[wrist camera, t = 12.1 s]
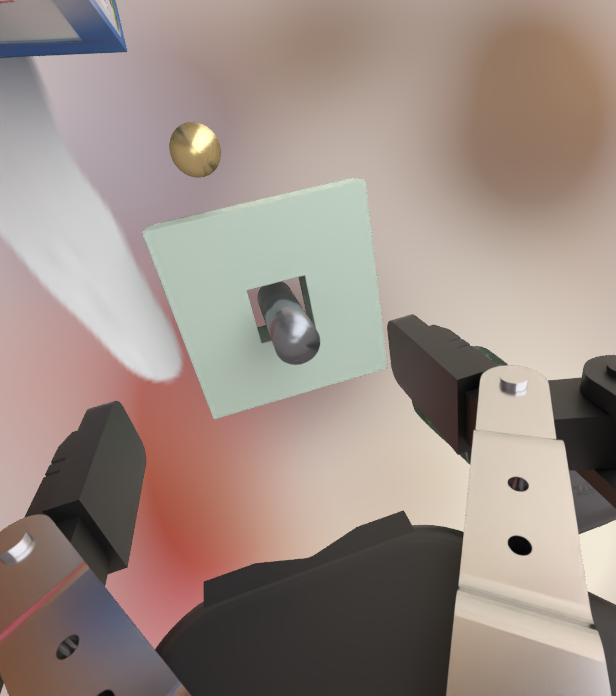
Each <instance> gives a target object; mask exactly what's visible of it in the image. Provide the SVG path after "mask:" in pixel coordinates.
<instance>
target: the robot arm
mask: <svg viewBox="0 0 616 696" xmlns="http://www.w3.org/2000/svg"><path fill="white" fill-rule="evenodd" d="M387 330H388V339H389V349H390V357H391V367H392V371H393V374H394V377H395V379H396V381H397V382H398V384H399V385H400V387H401V388H402V389H403V390H404V391H405V392H406V394H407V395H408V396H409V397H410V398H411V400H412V401H413V402H414V403H415V404H416V406H417V407H418V408H419V409H420V410H421V411H422V413H423V414H424V415H425V416H426V417H427V419H428V420H429V421H430V422H431V423H432V424H433V426H434V427H435V428H436V429H437V430H438V432H439V433H440V434H441V435H442V436H443V438H444V439H445V440H446V441H447V442H448V443H449V445H450V446H451V447H452V448H453V449H454V451H455V452H456V453H457V454H458V455H459V454H462V453H465V452H468V451H471V450H472V454H471V464H470V474H469V485H468V495H467V505H466V515H465V526H464V532H462V531H459V530H455V529H451V528H447V527H441V526H434V525H413V526H412V525H411V523H410V521H409V519H408V517H407V516H406V514H405V512H404V511H401V512H398V513H396V514H392V515H390V516H387V517H384V518H381V519H378V520H375V521H373V522H370V523H367V524H364V525H361V526H359V527H356V528H355V529H353V530H352V531H350V532H349V533H347V534H346V535H344V536H343V537H341V538H340V539H338V540H337V541H335V542H334V543H332V544H331V545H329V546H327V547H326V548H324V549H323V550H322V551H320V552H318V553H317V554H315V555H314V556H312V557H309V558H304V559H294V560H285V561H274V562H264V563H255V564H252V565H250V566H247V567H244V568H241V569H238V570H236V571H232V572H230V573H227V574H224V575H221V576H218V577H216V578H213V579H210V580H207V581H204V601H203V602H202V603H200V604H199V605H198V606H196V607H195V608H194V609H192V610H191V611H190V612H189V613H187V614H186V615H185V616H184V617H183V618H182V619H181V620H180V621H179V622H178V623H177V624H176V625H175V626H174V627H173V628H172V629H171V630H170V631H169V632H168V634H167V635H166V636H165V637H164V638H163V639H162V641H161V642H160V643H159V645H158V646H157V648H156V649H154V648H153V647H152V646H151V644H150V643H149V642H148V641H147V639H146V638H145V637H144V636H143V634H142V633H141V632H140V630H139V629H138V628H137V627H136V625H135V624H134V623H133V622H132V620H131V619H130V618H129V617H128V615H127V614H126V613H125V612H124V610H123V609H122V608H121V607H120V605H119V604H118V603H117V601H116V600H115V599H114V598H113V596H112V595H111V594H110V593H109V592H108V590H107V589H106V588H105V584H106V579H107V575H108V574H110V573H113V572H115V571H119V570H121V569H124V568H127V567H128V561H129V555H130V550H131V545H132V539H133V533H134V528H135V522H136V517H137V510H138V505H139V500H140V494H141V489H142V483H143V477H144V472H145V466H146V453H145V449H144V446H143V443H142V441H141V439H140V437H139V435H138V433H137V432H136V430H135V428H134V426H133V424H132V422H131V420H130V419H129V417H128V415H127V413H126V411H125V409H124V407H123V406H122V405H121V403H120V402H118V401H114V402H110V403H107V404H103V405H100V406H97V407H93V408H90V409H88V410H87V411H86V413H85V415H84V418H83V420H82V422H81V424H80V426H79V429H78V431H75V432H72V433H71V434H70V435H69V436H68V437H67V438H66V440H65V441H64V442H63V443H62V444H61V445H60V446H59V447H58V449H57V451H56V453H55V455H54V457H53V459H52V461H51V463H52V464H51V465H50V466H49V468H48V470H47V472H46V474H45V475H46V477H44V478H43V480H42V483H41V484H40V486H39V488H38V490H37V493H36V494H35V497H34V499H33V501H32V503H31V505H30V507H29V509H28V511H27V513H26V515H25V517H24V518H23V519H20V520H19V521H16V522H14V523H13V524H11V525H9V526H8V527H6V528H5V529H3V530H2V531H1V532H0V693H1V690H2V687H3V684H5V687H6V689H7V692H8V694H9V696H616V605H615V604H613V603H611V602H609V601H607V600H604V599H603V598H600V597H598V596H596V595H594V594H592V593H590V592H588V591H587V584H586V578H585V572H584V566H583V559H582V553H581V547H580V540H579V533H578V527H577V521H576V514H575V508H574V501H573V495H572V489H571V482H570V476H569V471H576V472H577V473H578V474H579V475H580V476H581V477H582V478H584V479H585V480H586V481H587V482H588V483H589V484H590V485H591V486H592V487H593V488H594V489H595V490H596V491H597V492H598V493H599V494H601V495H602V496H603V497H604V498H605V499H606V500H607V501H608V502H609V503H610V504H611V505H612V506H613V507H614V508H615V509H616V355H606V356H599V357H595V358H592V359H590V360H588V361H587V362H586V363H585V365H584V368H583V374H582V378H572V379H561V380H549V381H547V379H546V378H545V377H544V376H543V375H542V374H540V373H539V372H537V371H535V370H532V369H529V368H526V367H522V366H514V365H505V366H499V365H498V364H496V363H495V362H494V361H492V360H491V359H490V358H488V357H487V356H485V355H484V354H483V353H481V352H480V351H478V350H477V349H476V348H474V347H473V346H470V344H469V343H467V342H466V341H464V340H463V339H461V338H460V337H459V336H458V335H456V334H455V333H453V332H452V331H451V330H449V329H446V328H442V327H440V326H436V325H431V326H428V325H427V324H425V323H424V322H423V321H421V320H420V319H419V318H418V317H416V316H415V315H413V314H412V315H408V316H405V317H402V318H398V319H395V320H391V321H389V322H388V326H387Z"/></svg>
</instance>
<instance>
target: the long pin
mask: <svg viewBox="0 0 616 696" xmlns="http://www.w3.org/2000/svg"><path fill="white" fill-rule="evenodd" d="M258 303H259V306H260V308H261V311H262V314H263V317H264V320H265V323H266V326H267V328H268V331H269V334H270V337H271V340H272V343H273V345H274V348H275V351H276V354H277V355H278V357H279V358H280V359H281V360H282V361H284V362H285V363H288V364H291V365H300V364H304V363H306V362H308V361H310V360H311V359H312V358H313V357H314V356H315V355H316V354H317V352H318V350H319V347H320V336H319V333H318V332H317V330H316V328H315V327H314V325H313V324H312V322H311V321H310V319H309V318H308V316H307V314H306V313H305V311H304V310H303V309H302V307H301V305H300V304H299V302H298V301H297V299H296V297H295V296H294V295H293V293H292V291H291V290H290V288H289V287H288V286H287V285H286V284H285V283H283V282H277V283H273V284H269V285H265V286H262V287H261V288H260V290H259V292H258Z"/></svg>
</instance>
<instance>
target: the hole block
mask: <svg viewBox="0 0 616 696" xmlns="http://www.w3.org/2000/svg"><path fill="white" fill-rule="evenodd" d="M142 234H143V236H144V239H145V242H146V244H147V247H148V250H149V252H150V255H151V258H152V260H153V263H154V265H155V268H156V271H157V273H158V276H159V278H160V281H161V283H162V286H163V289H164V291H165V294H166V297H167V299H168V302H169V304H170V307H171V309H172V312H173V315H174V317H175V319H176V323H177V325H178V328H179V330H180V333H181V336H182V338H183V341H184V343H185V346H186V348H187V351H188V354H189V356H190V359H191V362H192V364H193V367H194V369H195V372H196V375H197V377H198V380H199V383H200V385H201V388H202V390H203V393H204V396H205V398H206V401H207V403H208V406H209V408H210V411H211V414H212V416H213V419H217V418H221V417H224V416H227V415H231V414H234V413H237V412H241V411H244V410H248V409H250V408H254V407H257V406H261V405H264V404H268V403H271V402H275V401H278V400H281V399H285V398H288V397H291V396H295V395H298V394H301V393H305V392H308V391H312V390H315V389H318V388H322V387H325V386H329V385H332V384H335V383H339V382H342V381H345V380H349V379H352V378H356V377H359V376H362V375H366V374H369V373H372V372H376V371H379V370H383V369H386V368H387V360H386V351H385V342H384V334H383V325H382V318H381V308H380V300H379V291H378V283H377V274H376V267H375V258H374V249H373V241H372V232H371V224H370V215H369V207H368V198H367V190H366V181H365V180H363V179H352V178H349V179H345V180H340V181H336V182H332V183H328V184H323V185H319V186H315V187H311V188H306V189H303V190H298V191H294V192H290V193H285V194H281V195H277V196H272V197H268V198H264V199H260V200H255V201H251V202H247V203H242V204H238V205H234V206H230V207H226V208H221V209H217V210H213V211H208V212H204V213H200V214H196V215H191V216H187V217H183V218H179V219H175V220H171V221H166V222H162V223H157V224H153V225H149V226H148V227H147V228H146V229H145V230H144V231H143V232H142ZM296 277H299V281H300V285H301V290H302V295H303V299H304V304H305V309H306V313H307V316H308V318H309V319H310V321H311V322H312V324H313V325H314V327H315V328H316V330H317V332H318V333H319V336H320V347H319V350H318V352H317V354H316V355H315V356H314V357H313V358H312V359H311V360H310V361H308V362H306V363H304V364H300V365H291V364H288V363H285V362H284V361H282V360H281V359H280V358H279V357H278V355H277V354H276V351H275V348H274V345H273V343H272V340H271V337H270V334H269V331H268V328H267V326H266V325H265V326H262V327H258V328H257V325H256V322H255V318H254V314H253V311H252V308H251V304H250V300H249V297H248V293H247V290H250V289H254V288H258V287H262V286H265V285H269V284H273V283H277V282H281V281H285V280H288V279H292V278H296Z"/></svg>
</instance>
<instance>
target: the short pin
mask: <svg viewBox="0 0 616 696" xmlns="http://www.w3.org/2000/svg"><path fill="white" fill-rule="evenodd" d="M170 154H171V157H172V160H173V162H174V163H175V165H176V166H177V167H178V168H179V169H180V170H181V171H182V172H183V173H185V174H187V175H189V176H192V177H205V176H207V175H209V174H211V173H212V172H213V171H214V170H215V169H216V168H217V166H218V164H219V162H220V157H221V149H220V144H219V142H218V139H217V138H216V136H215V134H214V133H213V132H212V131H211V130H210V129H209V128H208V127H206V126H205V125H202V124H200V123H196V122H188V123H184V124H182V125H181V126H179V127H178V128H177V129H176V130H175V131H174V132H173V134H172V136H171V139H170Z"/></svg>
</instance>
